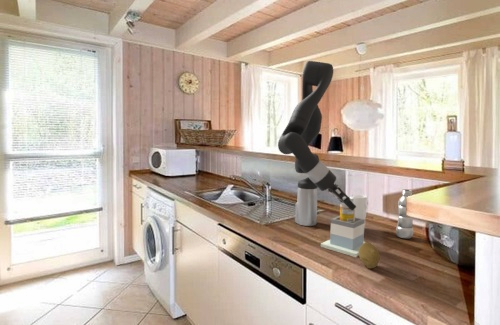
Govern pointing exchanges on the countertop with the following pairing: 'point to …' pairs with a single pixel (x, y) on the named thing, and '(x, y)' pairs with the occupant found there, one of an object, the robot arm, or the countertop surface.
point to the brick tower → (346, 236)
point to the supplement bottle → (347, 212)
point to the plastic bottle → (404, 217)
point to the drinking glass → (360, 206)
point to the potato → (369, 255)
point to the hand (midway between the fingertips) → (349, 205)
